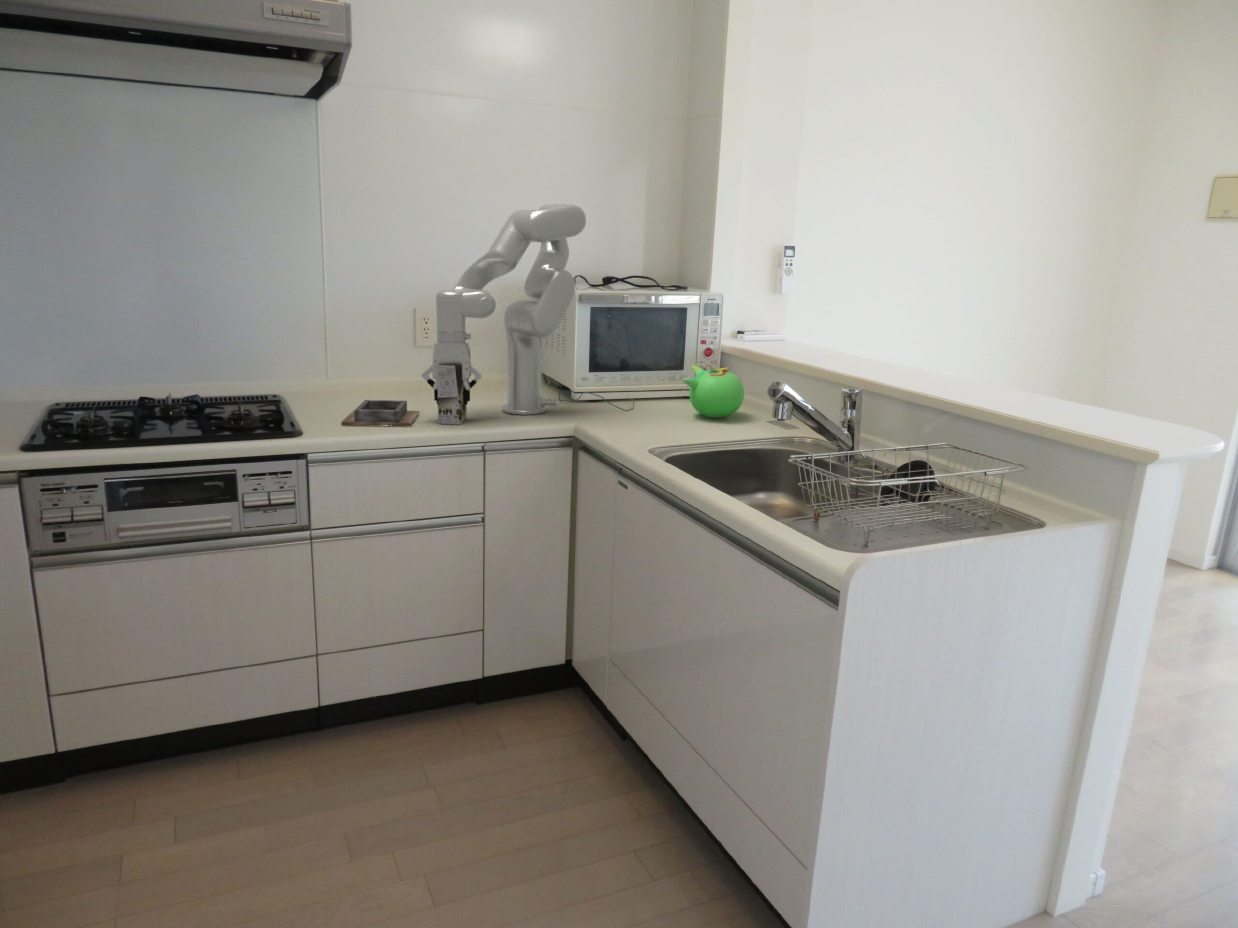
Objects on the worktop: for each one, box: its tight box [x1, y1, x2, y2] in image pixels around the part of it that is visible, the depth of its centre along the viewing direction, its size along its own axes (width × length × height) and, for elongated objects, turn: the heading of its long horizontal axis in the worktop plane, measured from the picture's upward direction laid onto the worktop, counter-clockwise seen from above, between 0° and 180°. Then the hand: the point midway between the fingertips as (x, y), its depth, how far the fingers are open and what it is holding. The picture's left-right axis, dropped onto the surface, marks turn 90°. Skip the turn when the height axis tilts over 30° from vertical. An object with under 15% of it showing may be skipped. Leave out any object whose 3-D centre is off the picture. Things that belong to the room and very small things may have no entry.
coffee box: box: [437, 364, 468, 426], centre depth 243 cm, size 9×6×16 cm
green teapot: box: [682, 364, 745, 419], centre depth 260 cm, size 18×17×15 cm
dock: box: [340, 399, 421, 427], centre depth 243 cm, size 18×16×4 cm
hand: (452, 403), depth 244 cm, fingers closed on coffee box, 6 cm apart
